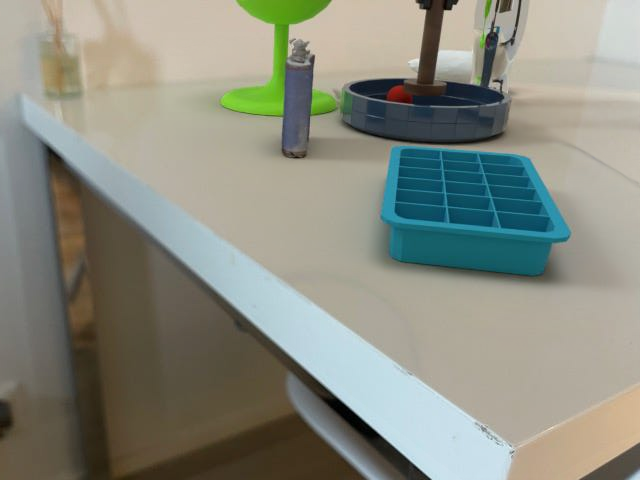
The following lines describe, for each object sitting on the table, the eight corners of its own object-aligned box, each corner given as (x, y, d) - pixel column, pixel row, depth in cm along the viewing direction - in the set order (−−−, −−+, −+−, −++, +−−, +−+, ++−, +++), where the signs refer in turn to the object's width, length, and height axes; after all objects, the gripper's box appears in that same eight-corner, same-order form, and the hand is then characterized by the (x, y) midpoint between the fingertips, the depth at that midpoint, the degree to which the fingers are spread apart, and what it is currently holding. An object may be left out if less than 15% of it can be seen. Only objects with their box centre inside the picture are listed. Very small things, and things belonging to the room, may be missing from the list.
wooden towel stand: (439, 89, 82) (458, -40, 75) (450, 97, 77) (471, -39, 71) (398, 88, 81) (414, -41, 75) (407, 95, 77) (424, -41, 71)
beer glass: (465, 95, 100) (482, -14, 93) (513, 100, 97) (535, -12, 90) (456, 103, 94) (474, -13, 87) (507, 108, 91) (530, -11, 85)
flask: (306, 158, 66) (312, 44, 61) (277, 157, 66) (281, 43, 61) (310, 137, 74) (316, 35, 69) (284, 135, 74) (288, 34, 70)
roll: (407, 81, 110) (411, 45, 108) (482, 86, 107) (488, 50, 105) (403, 87, 105) (408, 49, 103) (482, 92, 102) (489, 54, 100)
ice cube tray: (520, 188, 59) (527, 155, 57) (564, 285, 41) (575, 240, 40) (388, 176, 61) (391, 144, 60) (374, 264, 43) (379, 221, 42)
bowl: (476, 110, 90) (481, 79, 88) (530, 146, 72) (537, 109, 71) (332, 106, 90) (334, 76, 88) (351, 142, 72) (354, 105, 70)
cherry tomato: (407, 109, 86) (410, 84, 85) (412, 114, 83) (416, 88, 82) (383, 108, 86) (385, 83, 85) (387, 113, 83) (390, 87, 82)
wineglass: (241, 118, 81) (243, -46, 73) (207, 95, 95) (205, -46, 87) (358, 112, 86) (371, -42, 78) (309, 91, 100) (317, -43, 92)
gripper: (400, -184, 64) (380, 10, 72) (542, -179, 64) (507, 14, 72) (386, -171, 71) (369, 5, 78) (515, -166, 71) (485, 9, 79)
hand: (435, 9), depth 75 cm, fingers closed on wooden towel stand, 2 cm apart
